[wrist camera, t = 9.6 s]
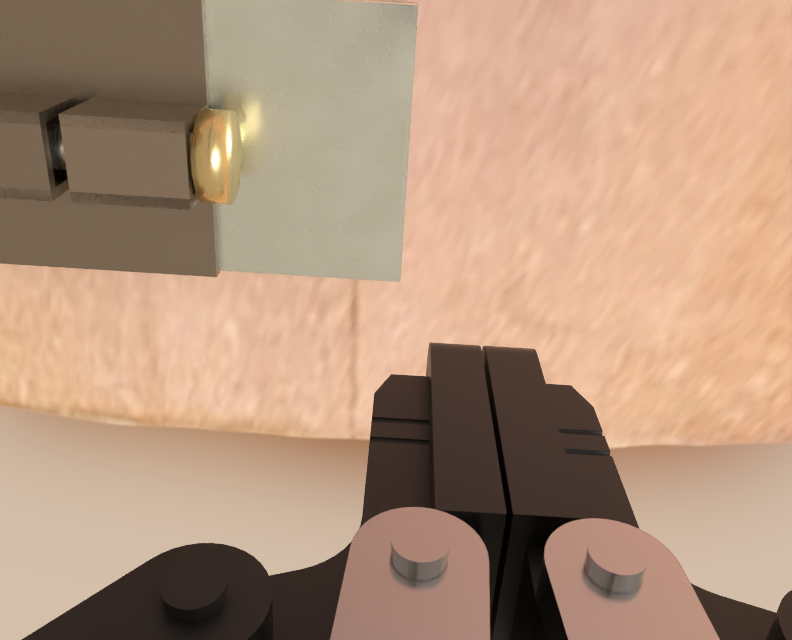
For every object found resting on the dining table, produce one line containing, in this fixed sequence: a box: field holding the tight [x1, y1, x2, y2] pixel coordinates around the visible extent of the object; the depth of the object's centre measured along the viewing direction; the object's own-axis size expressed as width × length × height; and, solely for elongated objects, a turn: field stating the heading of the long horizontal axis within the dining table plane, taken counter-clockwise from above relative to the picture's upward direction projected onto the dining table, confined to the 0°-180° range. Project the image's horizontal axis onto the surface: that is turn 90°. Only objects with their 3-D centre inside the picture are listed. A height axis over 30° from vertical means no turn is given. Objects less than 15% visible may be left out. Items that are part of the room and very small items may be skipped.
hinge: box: [0, 0, 418, 282], centre depth 41 cm, size 16×25×7 cm, turn 87°
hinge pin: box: [46, 108, 242, 205], centre depth 40 cm, size 5×16×5 cm, turn 87°
